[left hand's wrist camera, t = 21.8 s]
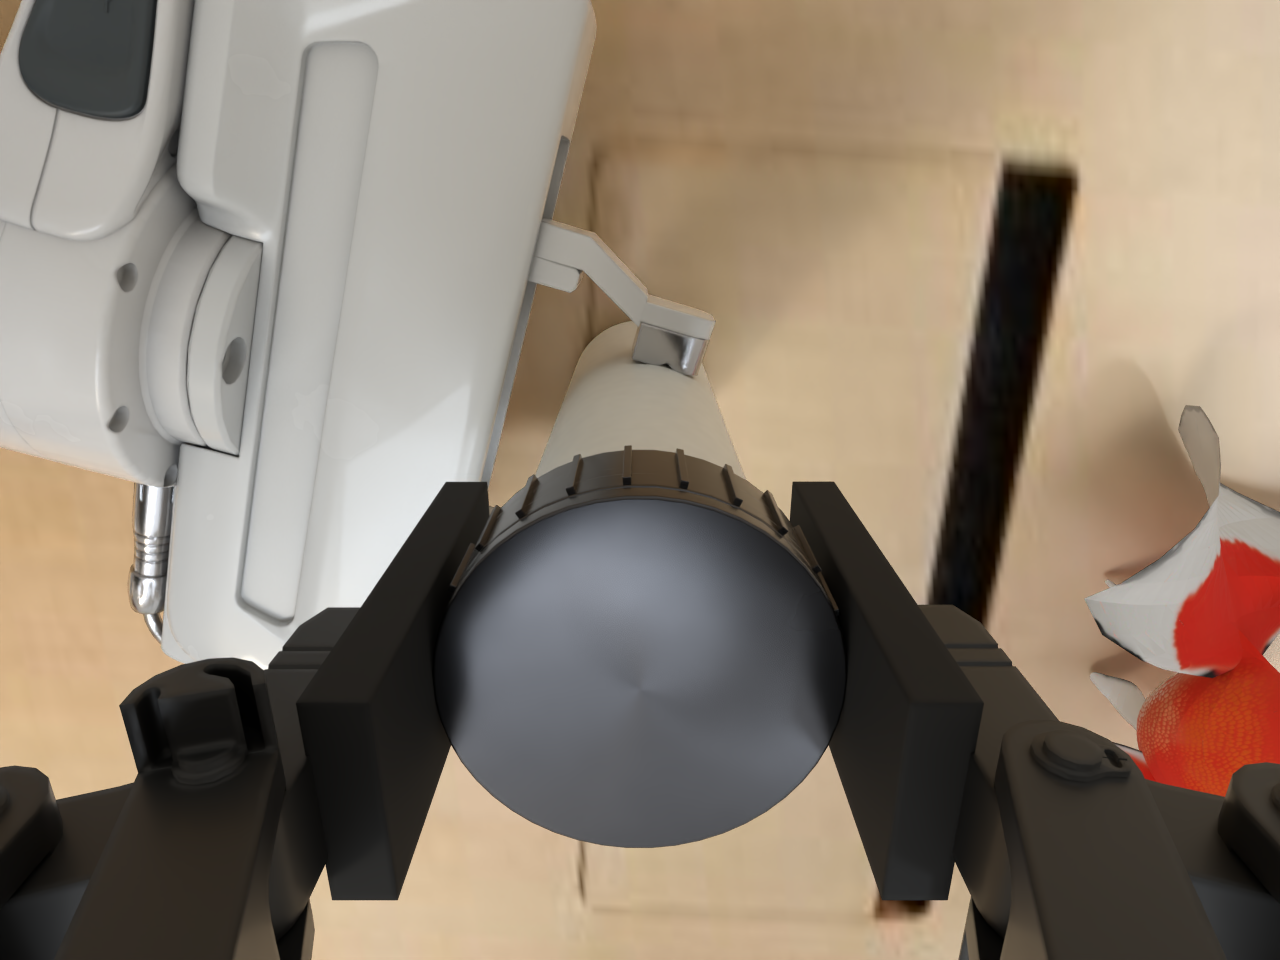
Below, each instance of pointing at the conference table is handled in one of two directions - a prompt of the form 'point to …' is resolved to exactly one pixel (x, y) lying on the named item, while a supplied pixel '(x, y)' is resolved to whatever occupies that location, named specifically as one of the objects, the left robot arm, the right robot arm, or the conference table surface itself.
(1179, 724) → the fish
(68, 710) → the conference table surface
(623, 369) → the jar
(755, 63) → the conference table surface
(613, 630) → the lid
